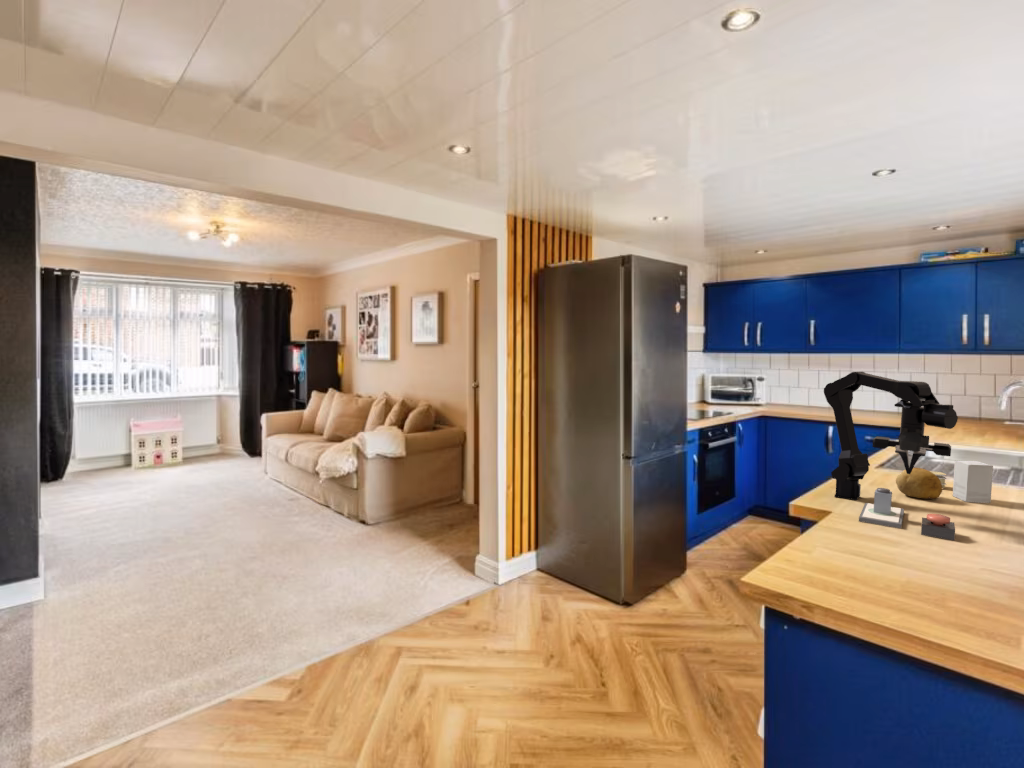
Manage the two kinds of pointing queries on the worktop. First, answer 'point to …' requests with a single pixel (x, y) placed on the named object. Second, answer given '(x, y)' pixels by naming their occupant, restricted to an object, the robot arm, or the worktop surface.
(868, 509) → the drawing board
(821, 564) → the worktop surface
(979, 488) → the supplement box
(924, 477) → the potato
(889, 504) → the grey rectangular block
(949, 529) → the button housing
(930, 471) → the stacked layers on plate
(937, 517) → the button
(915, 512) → the worktop surface
